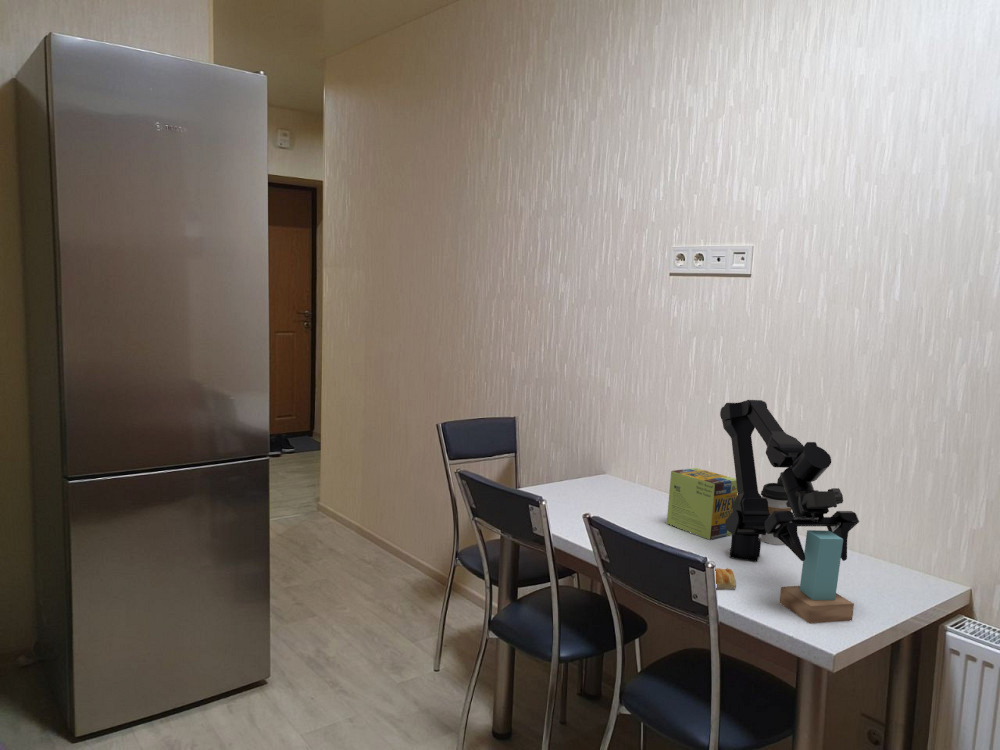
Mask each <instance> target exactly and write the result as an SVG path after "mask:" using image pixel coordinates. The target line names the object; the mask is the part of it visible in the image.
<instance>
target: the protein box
mask: <svg viewBox="0 0 1000 750" xmlns="http://www.w3.org/2000/svg"><path fill="white" fill-rule="evenodd" d="M669 481H670V482H669V492H668V493H669V494H668V502H667V503H668V505H667V515H666V516H667V517H666V525H668V524H670V525H669V526H671V525H673V526H675V527H674V528H676V527H677V529H679V528H680V529H679V530H681V529H683V530H682V531H684V530H686V531H685V532H687V531H689V532H691V533H690V534H692V533H694V534H693V535H695V534H697V535H699V536H698V537H700V536H702V537H701V538H703V537H704V538H703V539H705V538H707V539H706V540H708V539H709V541H712V540H715V539H720V538H724V537H729V536H732V533H730V532H729V531H728V530H726V523H725V521H726V520H727V518H728V517H729V516H730V515H731V513H732V512H733V507H732V506H733V503H734V501H735V499H736V497H737V495H738V491H737V483H736V477H731V476H727V475H723V474H720V473H717V472H713V471H708V470H705V469H701V468H697V467H691V468H684V469H677V470H676V469H675V470H671V471H670V480H669ZM673 526H672V527H673ZM689 532H688V533H689ZM697 535H696V536H697ZM728 535H729V536H728ZM711 539H712V540H711Z"/></svg>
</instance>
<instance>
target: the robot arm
mask: <svg viewBox="0 0 1000 750" xmlns="http://www.w3.org/2000/svg"><path fill="white" fill-rule="evenodd" d="M719 416H720V419H721V422H722V427H723V429H724V431H725V432H726V433H727V435H728V436H729V437H730V440H731V446H732V456H733V463H734V471H735V479H736V483H737V497H736V499H735V501H734V503H733V506H732V507H733V512H732V513H731V515H730V516H729V517H728V518H727V520H726V521H725V523H726V530H728V531H729V532H730V533H732V535H731V541H730V548H729V558H730V559H736V560H744V561H750V562H758V559H759V558H760V557H761V545H762V539H761V538H760V535H766V533H767V534H773V536H774V537H777V538H778V539H780V540H781V541H782V542H783V543H784V544H783V545H785V546H786V547H787V548H788V549H789V550H790V551H791V552H792V553H793V554H794V555H795V557H797V558H798V559H799V560H800V561H801V562H803V561H804V560H805V554H804V551H805V550H804V548H803V544H802V543H801V539H800V537H799V534H798V527H826V528H827V531H831V532H832V533H834V534H836V535H837V536H839V537H840V538H842V539H843V545H842V553H841V560H842V561H843V562H845V561H847V559H848V537H849V532H850V531H851V530H852V529H853V528H855V527H856V526H857V524H859V523H860V520H859V517H858V514H857V513H856V512H855V511H852V510H836V512H835V513H834V514H832V515H831V516H824V515H825V514H828V513H829V512H830V510H829V509H830V508H831V509H832V508H837V507H838V505H841V504H843V503H844V497H843V494H842V492H841V488H834V487H833V488H828V489H827V491H826V490H825V491H821V490H820V491H819V490H817V489H814V486H813V483H812V482H815V481H817V480H818V479H819V478H820V477H821V476H822V474H823V473H824V472H826V470H827V469H828V468H829V467H830V466H831V464H832V456H831V455H830V454H829V453H828V452H827V451H826V450H825V449H824V448H822V447H820V446H818V444H817V442H816V441H807V442H806V443H805V444H803V443H802V442H800V441H799V439H798V438H796V437H794V436H792V435H789V434H787V432H785V431H784V430H783V428H782V427H781V425H780V423H778V421H777V419H776V418H775V417H774V415H773V414H772V412H771V411H770V410H769V408H768V405H767V402H766V401H764V400H762V399H746V400H743V401H740V402H739V401H738V402H725V404H724V405H723V406H722V407H721V408H720V411H719ZM755 430H756V432H757V433H758V434H759V435H760V437H761V438H762V440H763V441H764V443H765V445H766V451H765V455H766V457H767V459H768V462H769V463H770V465H771V466H772V467H773V468H782V469H783V468H784V470H783V471H781V472H780V473H779V477H778V478H777V482H776V483H778V484H783V486H784V488H785V491H786V494H787V497H788V501H787V503H786V505H787V507H791V511H774V512H773V513H772V514H771V515H770V513H769V509H768V501H767V499H766V498H762V495H761V493H759V487H758V480H757V472H756V463H755V456H754V448H753V440H752V434H753V432H754V431H755Z"/></svg>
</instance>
